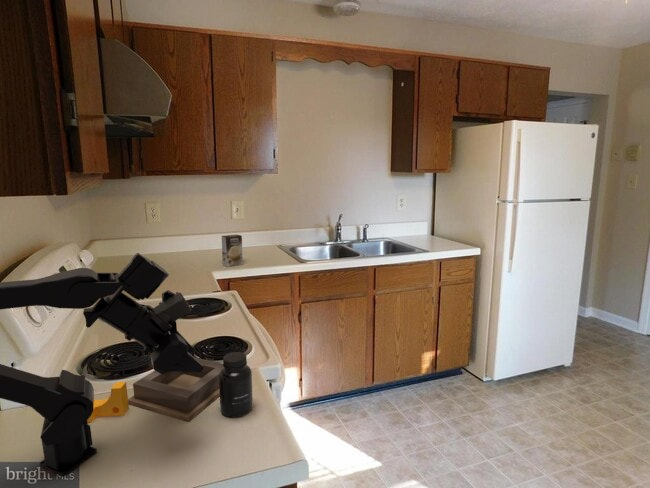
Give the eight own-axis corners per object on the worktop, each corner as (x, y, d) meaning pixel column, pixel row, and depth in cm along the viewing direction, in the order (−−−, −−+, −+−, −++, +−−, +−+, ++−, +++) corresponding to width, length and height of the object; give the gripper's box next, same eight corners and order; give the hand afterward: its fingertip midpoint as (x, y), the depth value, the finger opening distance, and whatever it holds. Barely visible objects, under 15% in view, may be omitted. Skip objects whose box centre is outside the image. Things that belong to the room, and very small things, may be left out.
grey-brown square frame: (188, 421, 81) (187, 401, 80) (127, 403, 88) (125, 385, 87) (237, 381, 97) (236, 364, 96) (182, 368, 103) (181, 352, 102)
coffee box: (227, 267, 210) (226, 237, 207) (222, 265, 215) (220, 235, 212) (243, 264, 215) (242, 235, 212) (238, 262, 220) (236, 234, 217)
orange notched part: (59, 424, 81) (55, 395, 80) (71, 411, 85) (67, 384, 84) (120, 421, 82) (116, 392, 80) (128, 409, 86) (126, 381, 85)
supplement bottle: (241, 421, 81) (238, 367, 79) (214, 414, 84) (210, 361, 81) (259, 403, 87) (257, 352, 85) (232, 397, 90) (230, 347, 88)
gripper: (169, 296, 66) (237, 344, 73) (155, 272, 82) (212, 313, 89) (120, 352, 64) (196, 395, 71) (116, 315, 80) (178, 354, 87)
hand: (197, 359), depth 79 cm, fingers open, 9 cm apart
